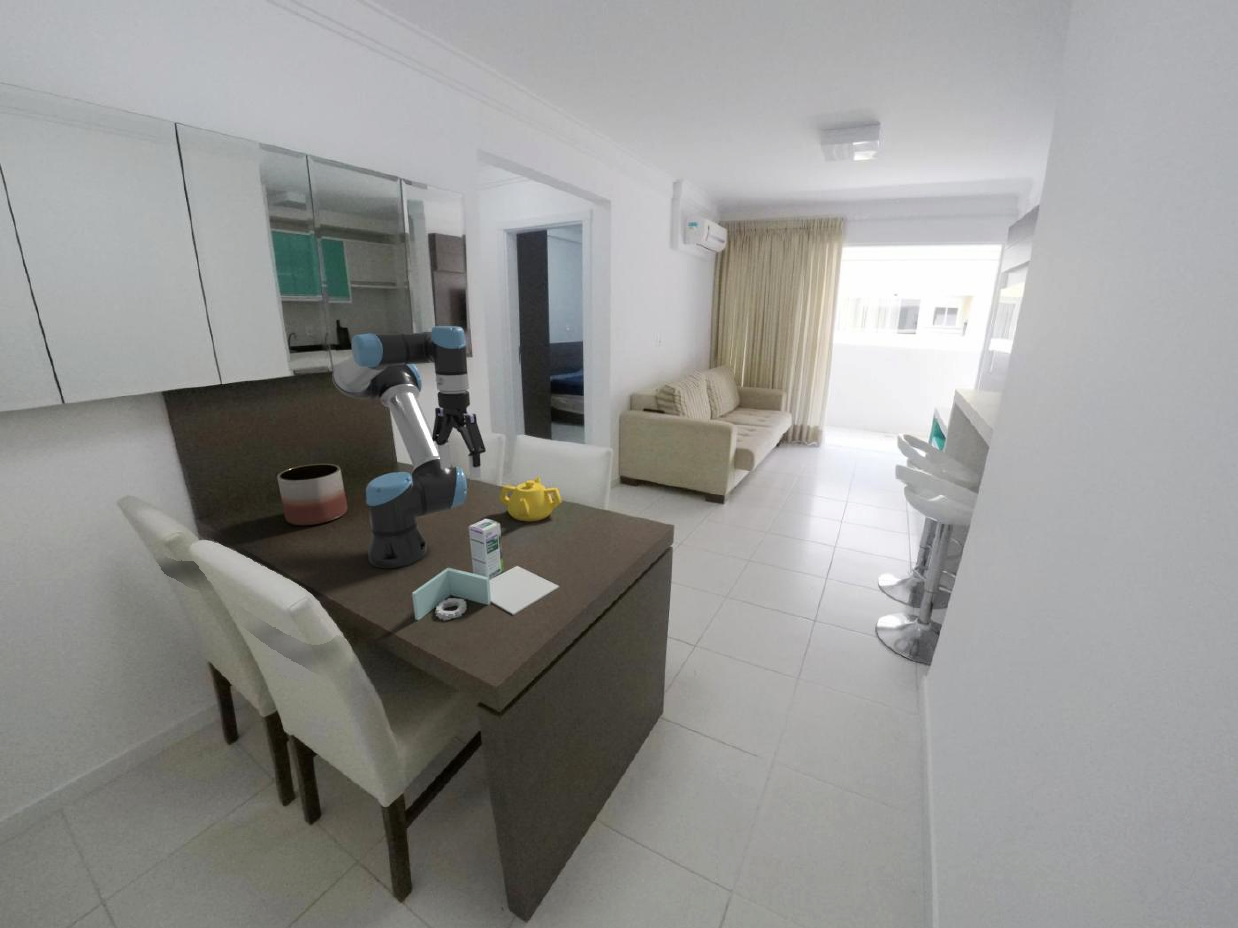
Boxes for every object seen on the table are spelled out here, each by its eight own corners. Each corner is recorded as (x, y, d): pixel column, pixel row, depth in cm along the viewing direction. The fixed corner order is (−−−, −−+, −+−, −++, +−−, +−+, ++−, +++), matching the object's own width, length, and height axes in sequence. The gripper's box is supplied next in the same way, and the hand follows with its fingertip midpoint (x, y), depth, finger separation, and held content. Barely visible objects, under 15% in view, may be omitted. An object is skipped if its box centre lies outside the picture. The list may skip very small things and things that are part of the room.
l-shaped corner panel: (415, 621, 110) (411, 592, 108) (450, 593, 121) (448, 567, 118) (459, 634, 106) (456, 604, 104) (491, 604, 117) (489, 577, 114)
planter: (291, 532, 150) (281, 485, 145) (282, 514, 162) (272, 470, 158) (354, 517, 161) (346, 473, 156) (340, 501, 174) (333, 460, 169)
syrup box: (488, 581, 125) (484, 530, 121) (472, 574, 128) (468, 525, 124) (504, 571, 130) (501, 522, 125) (488, 565, 133) (484, 517, 128)
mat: (471, 590, 121) (471, 589, 121) (517, 567, 132) (517, 565, 132) (513, 615, 112) (513, 613, 112) (559, 587, 123) (559, 586, 123)
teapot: (564, 515, 165) (564, 483, 162) (521, 528, 155) (519, 494, 152) (539, 501, 178) (538, 470, 174) (497, 512, 167) (495, 479, 164)
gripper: (412, 387, 124) (421, 466, 130) (470, 399, 110) (477, 487, 116) (438, 383, 129) (445, 460, 136) (497, 395, 115) (502, 479, 122)
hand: (460, 473), depth 126 cm, fingers open, 12 cm apart
